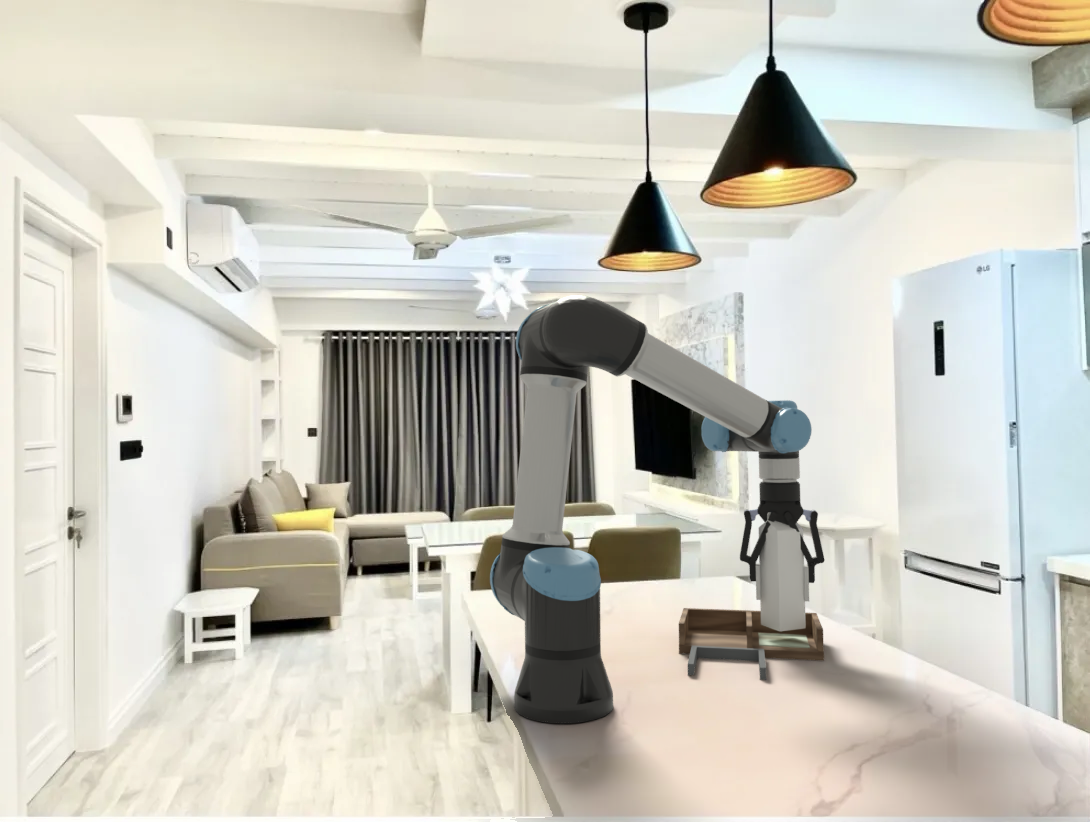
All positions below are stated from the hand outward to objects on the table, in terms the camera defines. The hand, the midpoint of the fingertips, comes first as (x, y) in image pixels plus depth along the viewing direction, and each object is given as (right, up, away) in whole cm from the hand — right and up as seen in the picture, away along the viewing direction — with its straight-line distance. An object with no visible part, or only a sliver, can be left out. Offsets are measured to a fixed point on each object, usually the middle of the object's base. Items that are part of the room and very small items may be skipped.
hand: (782, 599), depth 154 cm
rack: (-6, -10, +1) cm, 11 cm away
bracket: (-13, -9, -12) cm, 20 cm away
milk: (0, -5, 0) cm, 5 cm away
